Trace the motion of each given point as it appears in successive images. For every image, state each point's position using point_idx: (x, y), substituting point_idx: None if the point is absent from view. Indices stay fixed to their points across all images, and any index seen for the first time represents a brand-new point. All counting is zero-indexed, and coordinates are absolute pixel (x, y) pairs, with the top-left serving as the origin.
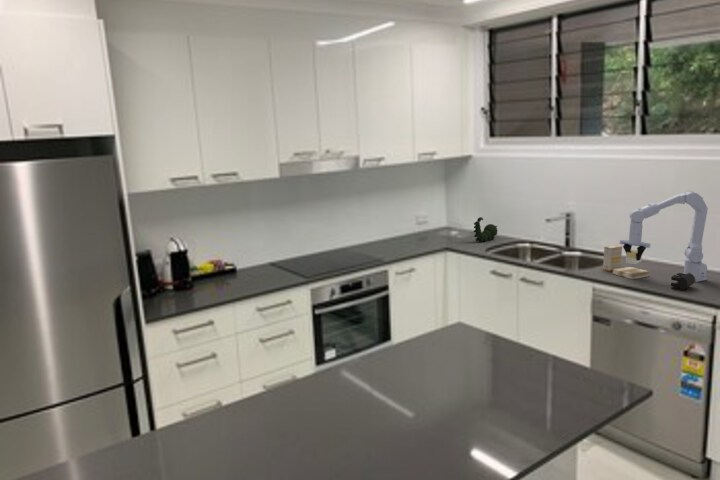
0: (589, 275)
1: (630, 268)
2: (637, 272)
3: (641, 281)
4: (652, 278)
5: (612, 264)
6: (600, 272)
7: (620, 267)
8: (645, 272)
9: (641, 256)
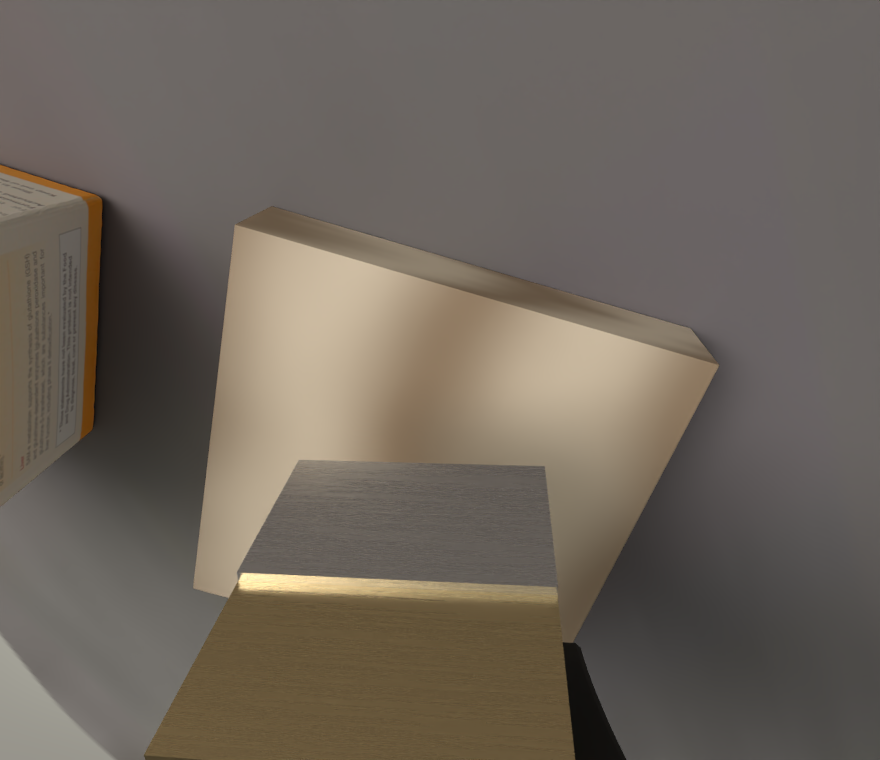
0: (117, 725)
1: (338, 371)
2: (562, 554)
3: (680, 649)
4: (777, 428)
5: (20, 446)
6: (81, 559)
7: (81, 216)
8: (667, 454)
9: (556, 574)
